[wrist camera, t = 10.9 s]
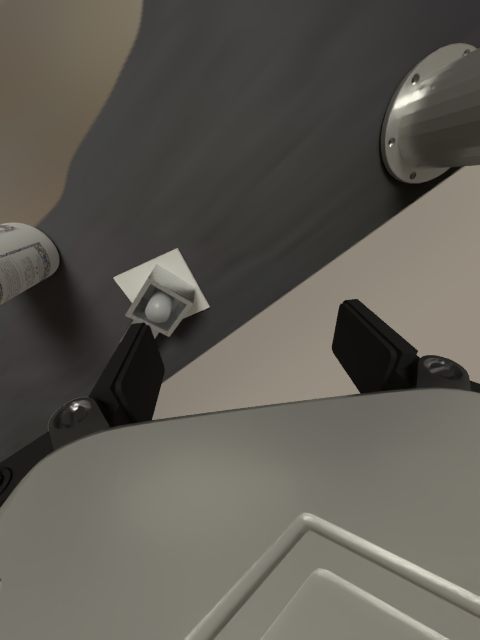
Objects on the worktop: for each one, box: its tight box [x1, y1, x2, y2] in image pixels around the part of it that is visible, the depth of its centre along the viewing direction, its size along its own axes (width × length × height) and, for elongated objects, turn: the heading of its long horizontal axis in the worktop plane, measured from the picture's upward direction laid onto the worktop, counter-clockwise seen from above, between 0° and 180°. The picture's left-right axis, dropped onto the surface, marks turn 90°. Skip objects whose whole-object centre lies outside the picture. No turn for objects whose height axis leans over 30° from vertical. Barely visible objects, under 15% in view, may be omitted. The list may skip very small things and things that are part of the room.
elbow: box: [120, 264, 195, 342], centre depth 32 cm, size 12×6×6 cm, turn 143°
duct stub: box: [114, 248, 210, 323], centre depth 31 cm, size 10×10×6 cm
